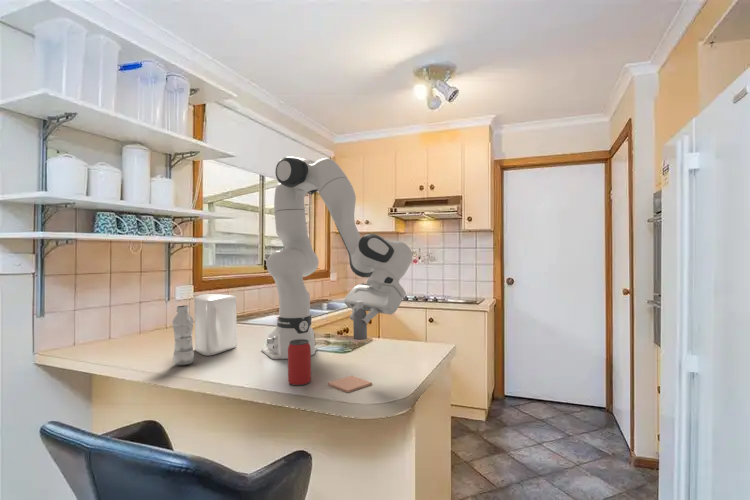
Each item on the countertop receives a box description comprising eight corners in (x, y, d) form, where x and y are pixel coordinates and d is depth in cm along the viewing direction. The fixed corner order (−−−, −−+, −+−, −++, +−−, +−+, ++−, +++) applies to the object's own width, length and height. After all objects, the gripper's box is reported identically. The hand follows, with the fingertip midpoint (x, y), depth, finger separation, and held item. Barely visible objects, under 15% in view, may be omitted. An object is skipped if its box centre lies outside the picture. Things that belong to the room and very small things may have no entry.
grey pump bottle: (350, 338, 120) (350, 301, 120) (360, 336, 123) (360, 300, 123) (359, 340, 117) (359, 302, 117) (369, 338, 120) (369, 301, 120)
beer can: (289, 379, 120) (289, 339, 120) (312, 378, 121) (311, 338, 121) (286, 386, 114) (286, 344, 114) (310, 385, 114) (309, 343, 114)
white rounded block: (211, 357, 147) (210, 296, 147) (181, 354, 152) (179, 295, 151) (238, 347, 161) (237, 292, 161) (210, 344, 166) (209, 291, 166)
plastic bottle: (184, 368, 133) (183, 307, 133) (168, 366, 135) (167, 307, 135) (198, 363, 139) (197, 305, 139) (183, 361, 141) (182, 304, 141)
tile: (327, 384, 115) (327, 382, 115) (351, 377, 121) (351, 375, 121) (347, 392, 108) (347, 390, 108) (372, 384, 115) (372, 382, 115)
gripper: (353, 277, 132) (330, 310, 125) (400, 280, 117) (376, 318, 111) (364, 289, 135) (342, 322, 129) (410, 294, 121) (388, 331, 114)
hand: (358, 320), depth 120 cm, fingers closed on grey pump bottle, 4 cm apart
